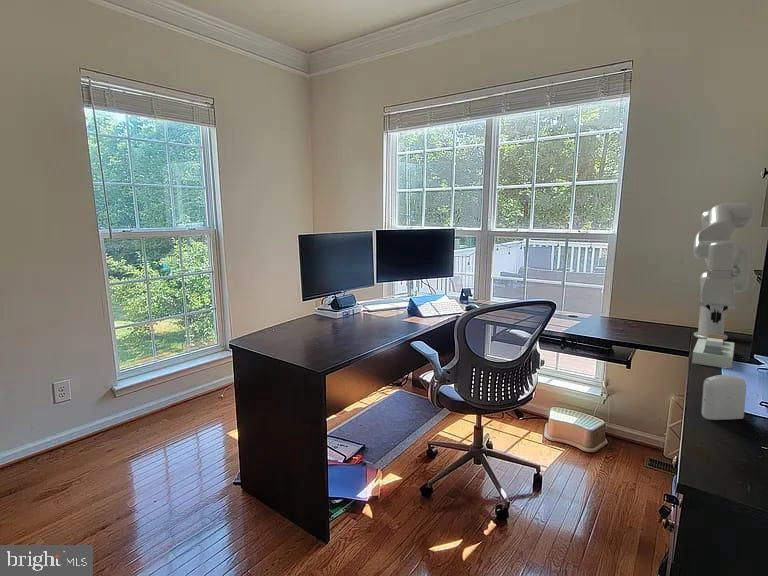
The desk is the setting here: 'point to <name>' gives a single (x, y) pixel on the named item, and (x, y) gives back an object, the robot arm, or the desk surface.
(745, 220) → the robot arm
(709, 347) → the slate key
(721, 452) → the desk surface
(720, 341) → the white key
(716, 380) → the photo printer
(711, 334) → the walnut key
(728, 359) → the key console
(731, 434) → the desk surface
